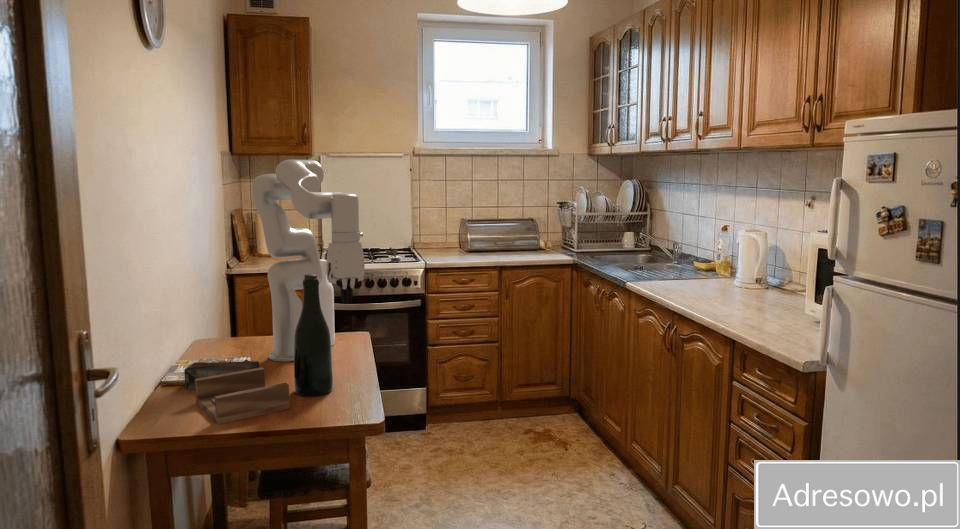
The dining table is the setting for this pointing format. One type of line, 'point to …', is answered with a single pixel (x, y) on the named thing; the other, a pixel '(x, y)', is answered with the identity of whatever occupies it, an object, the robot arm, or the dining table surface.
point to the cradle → (240, 395)
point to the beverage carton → (214, 370)
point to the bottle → (327, 301)
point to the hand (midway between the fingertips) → (346, 302)
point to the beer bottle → (312, 345)
